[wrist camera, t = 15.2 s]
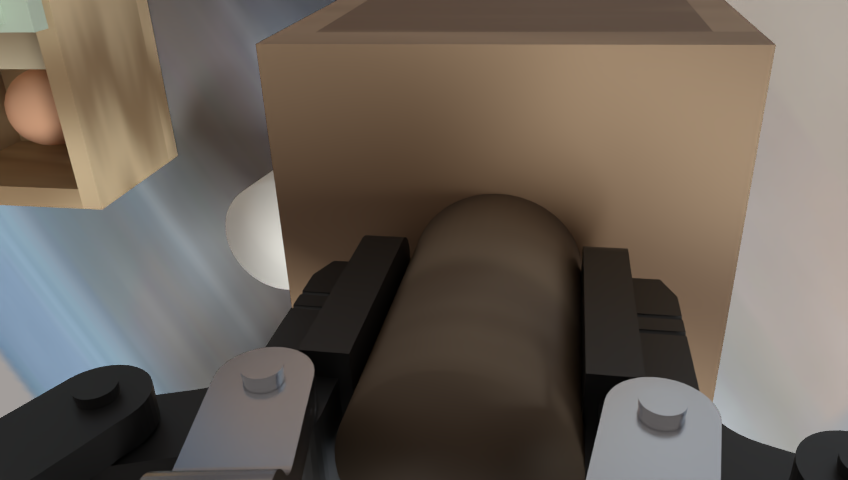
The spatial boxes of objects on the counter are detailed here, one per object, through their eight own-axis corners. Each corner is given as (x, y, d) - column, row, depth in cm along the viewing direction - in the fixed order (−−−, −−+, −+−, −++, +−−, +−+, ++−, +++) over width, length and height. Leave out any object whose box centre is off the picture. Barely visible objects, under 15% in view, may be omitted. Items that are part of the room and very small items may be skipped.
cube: (92, 52, 31) (46, 69, 28) (29, 52, 31) (-22, 68, 28) (74, -24, 29) (24, -13, 27) (8, -22, 30) (-46, -12, 27)
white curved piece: (365, 142, 31) (317, 181, 26) (382, 237, 32) (340, 289, 28) (272, 148, 32) (213, 186, 28) (293, 240, 34) (240, 289, 29)
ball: (113, 132, 32) (69, 157, 29) (49, 130, 33) (-1, 155, 30) (96, 59, 31) (48, 78, 28) (29, 59, 31) (-25, 77, 28)
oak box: (177, 155, 33) (102, 209, 28) (22, 150, 34) (-78, 201, 29) (135, -59, 29) (37, -43, 24) (-39, -54, 30) (-168, -38, 25)
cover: (652, 229, 23) (757, 731, 10) (408, 218, 25) (202, 640, 11) (683, -36, 20) (916, 168, 6) (395, -31, 21) (70, 143, 8)
